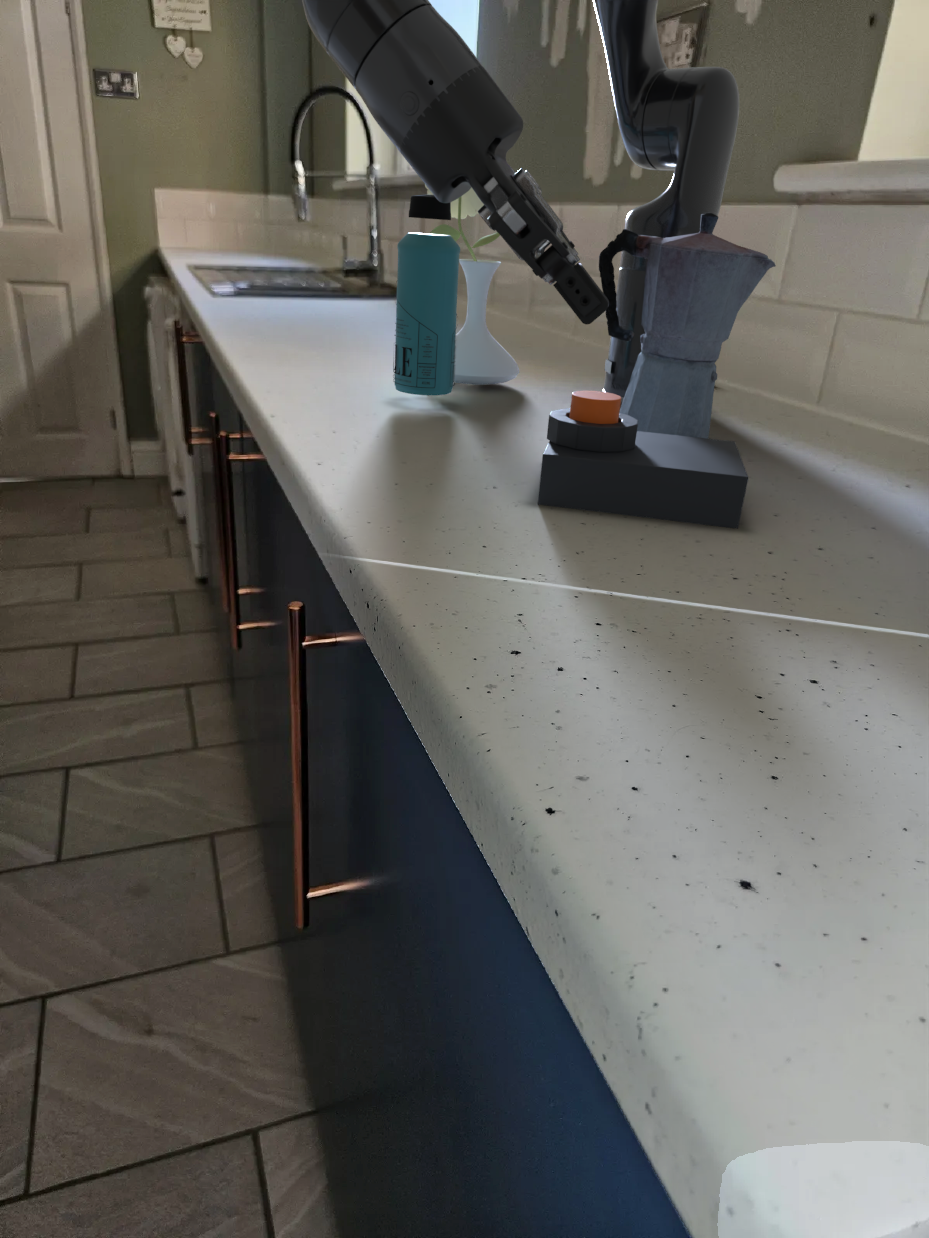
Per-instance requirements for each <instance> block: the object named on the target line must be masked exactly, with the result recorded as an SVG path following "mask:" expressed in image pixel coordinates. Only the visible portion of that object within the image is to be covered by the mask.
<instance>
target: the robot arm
mask: <svg viewBox="0 0 929 1238" xmlns="http://www.w3.org/2000/svg"><path fill="white" fill-rule="evenodd" d="M301 2H302V7H303V11H304V15H305V19H306V22H307V24H308V26H309V29H310V30H311V32H312V33H313V36H314V37H315V39H316V40H317V42H318V43H319V45H320V46H321V48H322V49H323V50H324V51H325V52H326V54H327V55H328V56H329V58H330V59H331V60H332V62H333V63H334V64H335V65H336V67H337V68H338V69H339V71H340V72H341V73H342V74H343V76H344V78H346V79H347V81H348V82H349V83H350V84H351V86H352V87H353V89H355V91H356V93H357V94H358V95H359V97H360V98H361V99H362V101H363V104H365V107H366V108H367V109H368V111H369V113H370V115H371V116H372V118H373V119H374V121H375V122H376V124H377V125H378V126H379V128H380V129H381V130H382V131H383V132H384V134H385V135H386V136H387V138H388V139H389V140H390V141H391V143H392V144H393V145H394V147H395V148H396V149H397V150H398V152H399V153H400V155H402V157H403V158H404V159H405V161H406V162H407V163H408V164H409V166H410V167H411V168H412V169H413V171H414V172H415V173H416V174H417V176H418V177H419V178H420V180H421V181H422V182H423V183H424V185H425V184H426V186H427V187H428V188H429V190H430V191H431V192H432V193H433V195H434V196H435V197H436V198H437V200H438V201H440V202H442V203H450V202H452V201H454V200H456V199H458V198H459V197H461V196H462V195H464V194H465V193H466V192H468V191H469V190H470V189H471V187H472V189H473V190H474V192H475V193H476V195H477V196H478V198H479V199H480V200H481V202H482V203H483V204H484V205H483V206H482V207H481V208H480V209H479V210H478V213H479V214H478V215H479V216H480V217H481V219H482V220H483V221H484V223H485V224H486V225H487V226H488V228H489V229H490V230H492V231H493V232H495V231H496V232H498V233H499V234H500V237H501V238H502V239H503V240H504V242H505V243H506V244H507V245H508V247H509V248H510V249H511V250H512V252H513V253H514V254H515V256H516V257H517V258H518V259H519V260H521V261H524V262H525V263H526V264H527V266H529V268H530V269H531V271H532V272H533V274H534V275H535V276H536V277H539V278H540V279H542V280H543V281H544V282H545V283H548V285H550V286H551V285H553V287H554V288H555V290H556V291H557V292H558V294H559V295H560V296H561V297H562V298H563V300H564V302H566V304H567V305H568V306H569V308H570V309H571V310H572V312H573V313H574V314H575V315H576V317H577V318H578V320H579V321H580V322H581V323H582V324H584V325H590V324H592V323H593V322H594V321H596V320H597V319H598V318H599V317H601V316H602V315H603V314H604V313H606V310H607V308H608V306H609V300H608V299H607V297H606V296H605V295H604V293H603V290H602V288H600V287H599V285H598V284H597V283H596V281H595V280H594V279H593V277H592V276H591V275H590V274H589V272H588V271H587V270H586V268H585V267H584V266H583V264H582V263H581V262H580V260H581V258H580V257H579V256H578V255H579V252H578V251H577V250H576V248H575V247H576V245H575V244H574V242H573V241H572V240H570V239H569V237H568V236H567V235H566V233H565V231H564V223H563V222H562V220H561V219H560V217H559V216H558V215H557V213H556V212H555V211H554V209H553V208H552V207H551V205H550V204H549V203H548V201H547V200H546V199H545V197H544V196H543V194H542V187H541V185H539V183H538V182H537V180H536V179H535V178H534V176H533V175H532V174H531V173H530V172H529V171H528V170H527V169H526V170H524V168H523V167H521V168H520V169H519V170H517V172H516V171H515V170H514V169H513V168H512V167H511V165H510V164H509V163H508V162H507V158H506V157H507V153H508V152H509V150H511V149H512V148H513V147H514V145H516V143H517V141H518V140H519V138H520V137H521V134H522V133H523V129H524V120H523V118H522V116H521V114H519V112H518V111H517V109H516V108H515V107H514V105H513V104H512V103H511V102H510V100H509V99H508V97H507V96H506V95H505V93H504V92H503V91H502V90H501V88H500V87H499V86H498V84H497V83H496V81H495V80H494V79H493V77H492V76H491V75H490V74H489V72H488V71H487V69H486V68H485V66H484V65H483V64H482V62H480V60H479V59H478V58H477V56H476V55H475V53H474V52H473V51H472V49H471V48H470V47H469V45H468V44H467V43H466V41H465V40H464V39H463V38H462V36H460V34H459V33H458V32H457V30H456V29H455V28H454V27H453V26H452V25H451V24H450V23H449V22H448V21H447V20H446V19H445V18H444V17H443V16H442V15H441V14H440V12H438V11H437V9H436V8H435V7H434V6H433V4H432V3H431V2H430V0H301ZM592 2H593V7H594V11H595V14H596V19H597V23H598V26H599V31H600V35H601V39H602V43H603V47H604V53H605V58H606V63H607V69H608V75H609V80H610V86H611V92H612V96H613V103H614V107H615V113H616V118H617V123H618V128H619V132H620V136H621V141H622V144H623V146H624V149H625V151H626V153H627V155H628V157H629V159H630V161H632V163H633V164H635V165H636V166H637V167H639V168H641V169H644V170H650V171H660V172H661V171H663V172H665V171H667V172H673V176H672V179H671V182H670V184H669V186H668V187H667V188H666V189H665V191H664V192H662V193H660V195H659V196H657V197H656V198H654V199H653V200H650V201H649V202H647V203H643V204H641V205H639V206H636V207H633V208H632V209H631V210H629V212H628V213H627V215H626V218H625V225H624V229H627V230H630V231H632V232H635V233H636V234H638V235H643V236H653V237H660V238H668V237H675V236H681V235H688V234H695V233H699V232H700V222H701V215H702V214H705V213H713V214H715V215H717V216H718V217H719V213H720V211H721V206H722V202H723V197H724V192H725V187H726V183H727V179H728V178H727V177H728V174H729V169H730V165H731V160H732V155H733V152H734V146H735V143H736V137H737V133H738V125H739V118H740V105H741V104H740V90H739V85H738V82H737V80H736V77H735V76H734V74H733V73H732V72H731V71H730V70H729V69H727V68H725V67H722V66H699V67H698V66H697V67H696V66H693V67H677V68H676V67H675V68H669V67H668V66H667V64H666V63H665V60H664V57H663V54H662V49H661V44H660V40H659V39H660V38H659V32H658V24H657V23H658V22H657V21H658V19H657V16H658V8H659V2H660V0H592ZM645 272H646V259H645V258H643V257H636V256H633V255H631V254H629V253H628V252H626V251H621V255H620V263H619V272H618V277H617V278H618V279H617V287H616V295H617V296H616V301H617V308H616V311H617V315H618V318H619V326H620V327H621V328H622V329H624V330H631V331H633V333H634V334H635V335H634V336H633V338H632V339H631V341H624V340H620V339H618V338H614V337H612V336H610V339H609V345H608V347H609V348H608V353H607V355H608V356H607V358H605V363H604V371H605V375H604V376H605V377H604V385H603V389H602V392H608V393H613V394H616V395H619V396H620V397H621V404H620V406H622V403H623V400H624V397H625V394H626V391H627V388H628V385H629V382H630V379H631V375H632V372H633V370H634V367H635V364H636V361H637V358H638V355H639V354H640V353H641V342H640V336H641V335H642V334H645V331H644V328H643V326H642V325H641V323H642V312H643V300H644V286H645Z"/></svg>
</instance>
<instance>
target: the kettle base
mask: <svg viewBox="0 0 929 1238" xmlns="http://www.w3.org/2000/svg"><path fill="white" fill-rule="evenodd" d="M570 408H571V407H565V408H559V409H554V410H551V411H550V413H549V415H548V422H547V430H546V431H547V433H546V440H548V443H547V445H546V447H545V449H544V451H543V453H542V458H541V469H540V479H539V485H538V486H539V487H538V496H537V497H538V498H537V505H539V506H546V507H547V506H548V507H556V508H564V509H570V510H571V509H573V510H579V511H589V512H596V513H604V514H605V513H606V514H612V515H613V514H614V515H620V516H621V515H622V516H630V517H639V518H647V519H655V520H661V521H662V520H663V521H672V522H679V523H688V524H695V525H705V526H710V527H711V526H713V527H719V528H720V527H722V528H727V529H739V525H740V520H741V516H742V511H743V507H744V502H745V496H746V493H747V492H746V491H747V486H748V482H749V475H748V472H747V469H746V467H745V465H744V461H743V459H742V456H741V454H740V451H739V449H738V446H737V444H736V443H737V442H736V441H735V440H725V439H717V438H708V439H707V438H698V437H688V436H679V435H670V434H660V433H651V432H641V431H637V427H638V420H637V419H635V418H633V417H631V416H629V415H626V414H621V413H619V419H618V423H615V424H596V423H587V422H581V421H577V420H572V419H570V418H569V417H570Z"/></svg>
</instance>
